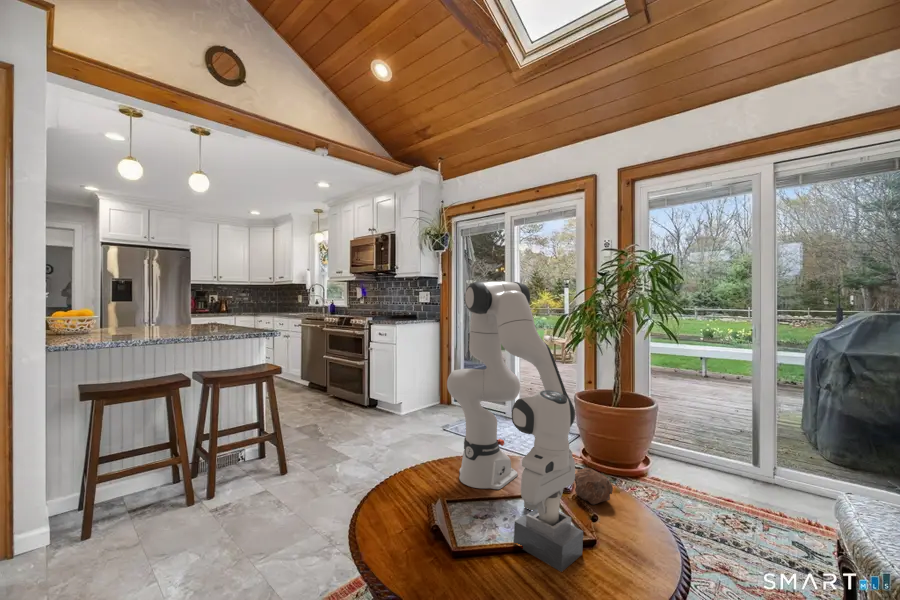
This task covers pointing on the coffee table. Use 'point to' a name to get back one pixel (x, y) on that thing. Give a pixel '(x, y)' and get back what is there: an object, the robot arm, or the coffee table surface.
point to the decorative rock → (592, 486)
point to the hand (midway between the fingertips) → (548, 509)
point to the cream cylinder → (551, 510)
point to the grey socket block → (549, 539)
